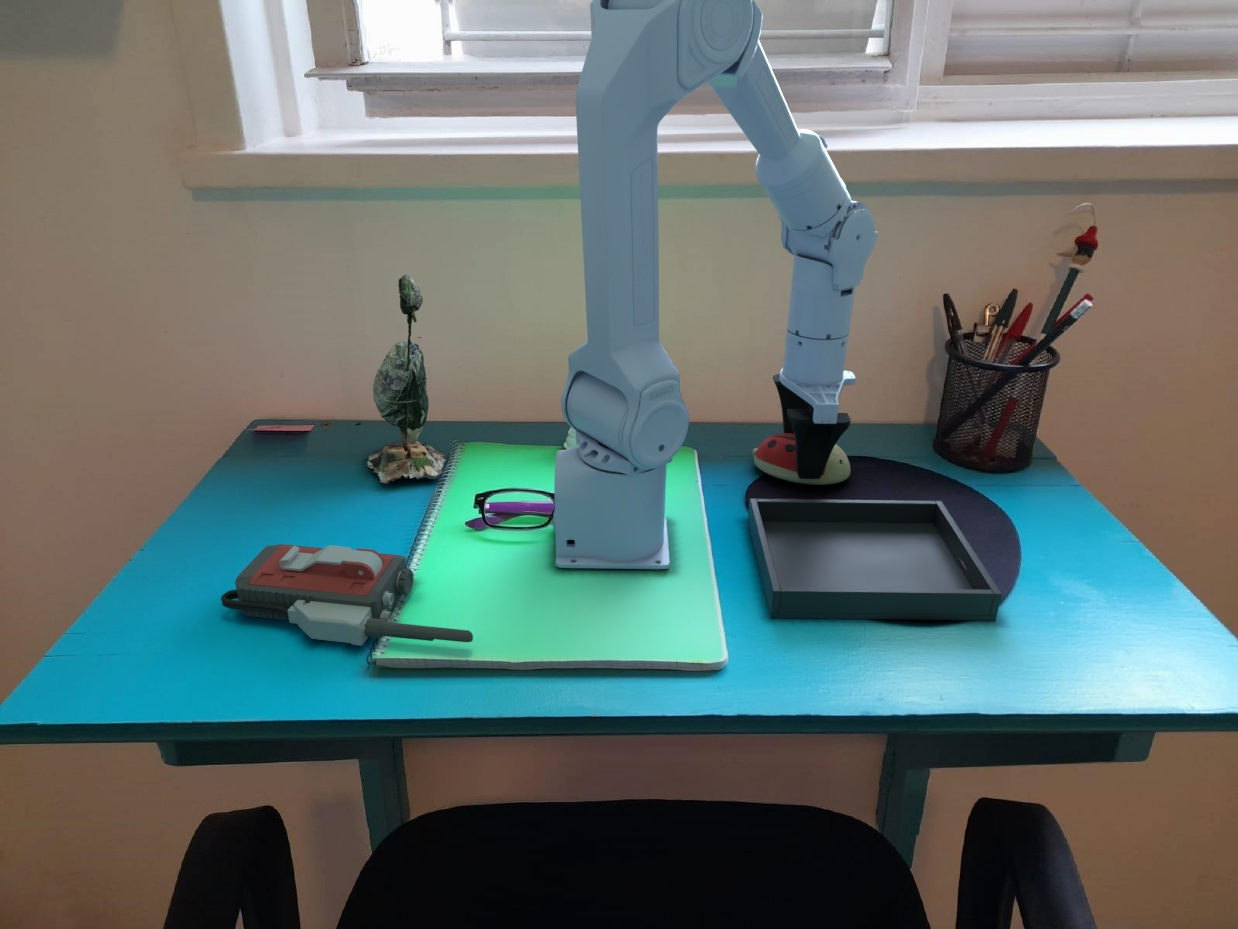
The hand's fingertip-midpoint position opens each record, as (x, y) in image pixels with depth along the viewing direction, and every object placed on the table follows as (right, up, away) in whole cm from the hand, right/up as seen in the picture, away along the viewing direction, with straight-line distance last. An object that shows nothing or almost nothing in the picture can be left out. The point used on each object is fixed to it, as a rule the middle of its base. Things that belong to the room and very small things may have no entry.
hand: (802, 460), depth 87 cm
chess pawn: (-29, -5, -6) cm, 30 cm away
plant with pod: (-40, 0, +2) cm, 40 cm away
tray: (+2, -9, -14) cm, 17 cm away
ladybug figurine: (0, -1, +1) cm, 2 cm away
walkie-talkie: (-38, -12, -20) cm, 45 cm away
